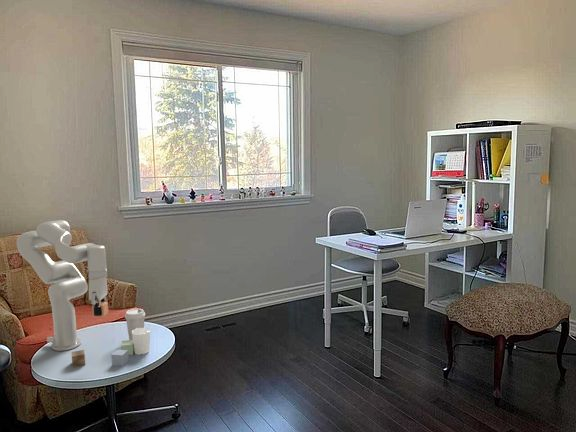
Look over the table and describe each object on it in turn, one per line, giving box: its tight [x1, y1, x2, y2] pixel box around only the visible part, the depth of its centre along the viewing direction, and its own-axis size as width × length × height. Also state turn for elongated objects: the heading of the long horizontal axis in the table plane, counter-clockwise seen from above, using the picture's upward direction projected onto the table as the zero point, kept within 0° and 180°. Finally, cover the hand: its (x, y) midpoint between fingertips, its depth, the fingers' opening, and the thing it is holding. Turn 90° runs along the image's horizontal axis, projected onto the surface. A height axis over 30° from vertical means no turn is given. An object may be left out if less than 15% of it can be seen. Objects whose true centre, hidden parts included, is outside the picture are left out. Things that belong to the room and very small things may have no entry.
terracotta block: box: [91, 301, 109, 318], centre depth 201 cm, size 5×5×5 cm
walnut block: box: [71, 349, 86, 368], centre depth 196 cm, size 5×5×5 cm
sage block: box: [120, 340, 135, 356], centre depth 207 cm, size 5×5×5 cm
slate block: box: [110, 349, 129, 367], centre depth 197 cm, size 5×5×5 cm
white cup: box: [132, 327, 151, 356], centre depth 207 cm, size 8×8×10 cm
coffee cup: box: [124, 308, 146, 340], centre depth 219 cm, size 10×10×15 cm
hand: (100, 312), depth 201 cm, fingers closed on terracotta block, 4 cm apart
